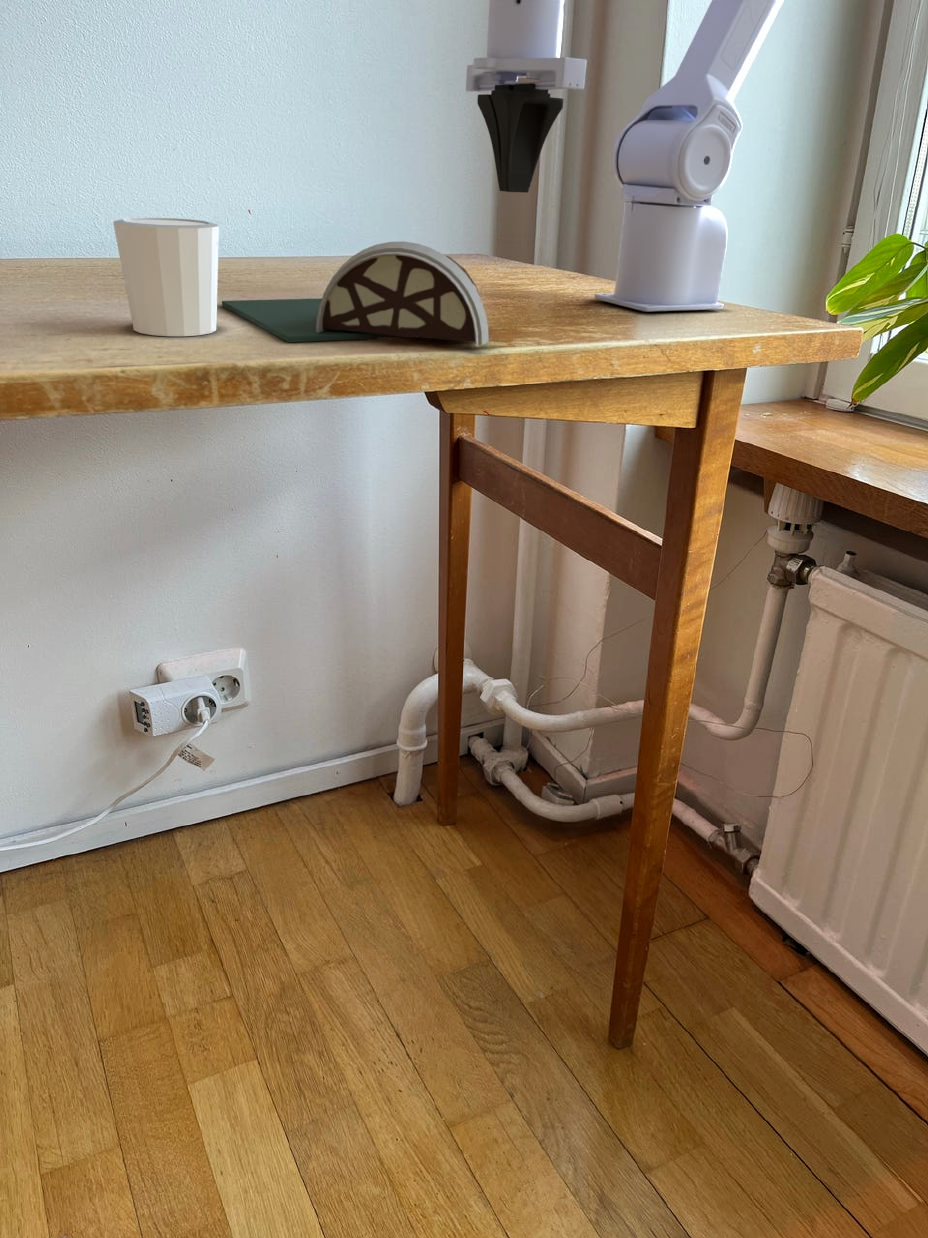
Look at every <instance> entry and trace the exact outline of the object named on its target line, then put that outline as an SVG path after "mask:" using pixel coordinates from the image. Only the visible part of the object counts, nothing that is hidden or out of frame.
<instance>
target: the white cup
mask: <svg viewBox="0 0 928 1238" xmlns="http://www.w3.org/2000/svg"><path fill="white" fill-rule="evenodd" d="M112 224H113V228H114V235H115V239H116V244H117V249H118V255H119V260H120V265H121V270H122V276H123V281H124V286H125V291H126V296H127V302H128V307H129V312H130V317H131V322H132V327H133V328H132V329H133V331H135V332H137V333H140V334H144V335H148V336H159V337H194V336H203V335H209V334H212V333H214V332H216V331H217V322H218V321H217V316H218V284H219V283H218V281H219V279H218V277H219V240H220V239H219V238H220V225H219V224H218V223H214V222H210V221H205V220H198V219H190V218H189V219H188V218H173V217H130V218H124V219H117V220H113V222H112Z"/></svg>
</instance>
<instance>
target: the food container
mask: <svg viewBox="0 0 928 1238" xmlns="http://www.w3.org/2000/svg"><path fill="white" fill-rule="evenodd" d="M321 298H322V300H321V302H320V305H319V309H318V314H317V320H316V331H317V333H319V332H322V331H324V330H332V331H337V330H339V331H352V332H363V333H374V334H383V335H392V336H404V337H403V338H420V339H421V338H422V339H435V340H446V341H459V342H472V343H474V342H475V347H478V346H484V345H485V344H487V343H489V341H490V340H489V339H490V338H489V324H488V318H487V313H486V310H485V307H484V303H483V300H482V298H481V296H480V293H479V289H478V286H477V285H476V284H475V282H474V280H473V279H472V277H471V276H470V275H469V272H468V271H467V270H466V269H465V268H464V267H463V266H462V265H460V264H459V263H458V262H457V261H456V260H454V259H453V258H452V257H451V256H449V255H446V254H443V253H442V252H439V251H438V250H436V249H434V248H433V247H429V246H426V245H424V244H420V243H417V242H416V243H415V242H410V241H387V242H382V243H377V244H374V245H371V246H368V247H366V248H364V249H362V250H360V251H359V252H357V253H356V254H353V255H352V256H351V257H349V259H347V260H346V262H344V263H343V264H342V265H341V266H340V267H339V268H338V270H337V271H336V272H335V273H334V275H332V277H331V279H330V280H329V283H328V284H327V286H326V288H325V290H324V292H323V294H322V297H321Z"/></svg>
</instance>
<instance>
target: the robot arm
mask: <svg viewBox="0 0 928 1238" xmlns="http://www.w3.org/2000/svg"><path fill="white" fill-rule="evenodd" d="M488 1H489V3H488V16H487V17H488V20H487V21H488V22H487V37H486V56H485V57H474V58H473V64H468V65H466V77H465V78H466V79H465V81H466V83H465V92H467V93H468V92H469V93H470V92H471V93H479V94H478V95H477V98H476V99H477V106H478V108H479V110H480V113H481V114H482V117H483V119H484V122H485V125H486V127H487V131H488V135H489V138H490V142H491V146H492V151H493V157H494V165H495V171H496V177H497V183H498V188H499V192H506V193H525V194H526V193H529V192H530V189H531V185H532V182H533V178H534V175H535V172H536V169H537V165H538V162H539V159H540V156H541V153H542V149H543V147H544V144H545V142H546V139H547V137H548V135H549V133H550V131H551V129H552V127H553V125H554V124H555V122H556V120H557V118H558V116H559V114H560V113H561V111H562V110H563V108H564V101H565V100H564V98H561V97H551V93H549V91H551V90H572V91H573V90H574V91H580V90H581V91H582V90H583V91H584V90H585V85H586V84H585V83H586V71H587V61H588V60H587V59H585V58H576V57H569V56H568V57H567V56H561V48H562V38H563V37H562V36H563V27H564V26H563V25H564V11H565V0H488ZM783 2H784V0H711V1H710V3H709V5H708V7H707V10H706V12H705V14H704V16H703V18H702V20H701V22H700V25H699V26H698V28H697V30H696V31H695V34H694V36H693V38H692V40H691V42H690V44H689V46H688V48H687V51H686V53H685V55H684V57H683V59H682V60H681V62H680V65H679V67H678V69H677V71H676V73H675V74H674V76H673V77H672V78H670V79H669V81H667V82H666V83H664V84H663V85H662V86H661V87H660V88H658V89H657V90H656V91H654V92H653V93H652V94H651V95H649V97H647V98H646V100H645V101H644V103H643V105H642V107H641V110H640V111H639V112H638V114H637V115H636V117H635V118H634V119H633V120H631V121H630V122H629V123H627V124H626V125H625V126H624V127H623V129H622V130H620V131H621V132H619V135H618V136H617V138H616V140H615V143H614V147H613V150H612V159H611V160H612V161H611V162H612V171H613V176H614V178H615V180H616V182H617V184H618V185H619V186H620V188H621V195H620V199H623V200H625V201H624V205H623V206H624V207H623V214H622V222H621V231H620V239H619V247H618V255H617V256H618V257H617V263H616V264H617V265H616V273H615V283H614V290H613V293H595V294H594V296H593V299H594V300H597V301H602V302H605V303H610V304H613V305H616V306H621V307H625V308H628V309H633V310H636V311H640V312H648V313H649V312H650V313H651V312H674V311H675V312H676V311H678V312H679V311H699V310H700V311H702V310H703V311H704V310H722V309H723V308H724V304H723V303H721V302H718V301H719V295H720V288H721V282H722V276H723V270H724V263H725V258H726V252H727V245H728V237H729V236H728V235H729V234H728V225H727V221H726V218H725V217H724V215H723V213H722V212H721V211H720V210H719V209H718V208H716V207H714V206H711V205H712V202H713V196H714V195H716V194H717V193H718V191H720V189H721V188H722V187H723V185H724V184H725V182H726V180H727V179H728V177H729V174H730V170H731V166H732V161H733V153H734V149H735V146H736V143H737V140H738V138H739V136H740V135H741V132H742V130H743V128H744V126H743V125H744V124H743V122H742V119H741V116H740V113H739V112H738V110H737V108H736V105H735V104H734V99H735V97H736V95H737V93H738V91H739V90H740V87H741V86H742V83H743V82H744V79H745V78H746V76H747V73H748V71H749V70H750V68H751V65H752V63H753V62H754V60H755V58H756V55H757V54H758V51H759V49H760V48H761V45H762V43H763V42H764V40H765V38H766V36H767V34H768V32H769V30H770V28H771V26H772V24H773V22H774V20H775V18H776V16H777V14H778V11H779V10H780V8H781V6H782V4H783ZM518 79H526V80H537V81H531V82H530V81H527V82H518ZM480 93H481V94H480Z"/></svg>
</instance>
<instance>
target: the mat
mask: <svg viewBox="0 0 928 1238" xmlns="http://www.w3.org/2000/svg"><path fill="white" fill-rule="evenodd" d="M321 300H322V297H320V298H284V299H283V298H282V299H281V298H280V299H240V300H239V299H238V300H237V299H235V300H222V301H221V306H222V307H224V308H225V309H227V310H229V311H231V312H232V313H235V314H236V315H238V316H240V317H241V318H243V319H245V320H247V321H248V322H251V323H253V324H254V325H255V326H258V327H259V328H261V329H263V330H265V331H266V332H269V333H270V334H273V336H276V337H278V338H279V339H281V340H283V341H285V342H287V343H306V342H307V343H308V342H329V341H330V342H331V341H332V342H333V341H350V340H351V341H355V340H375V339H376V340H377V339H396V338H405V337H404V336H392V335H383V334H374V333H363V332H352V331H339V330H337V331H332V330H324V331H322V332H319V333H317V331H316V320H317V314H318V309H319V305H320V302H321Z"/></svg>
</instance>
